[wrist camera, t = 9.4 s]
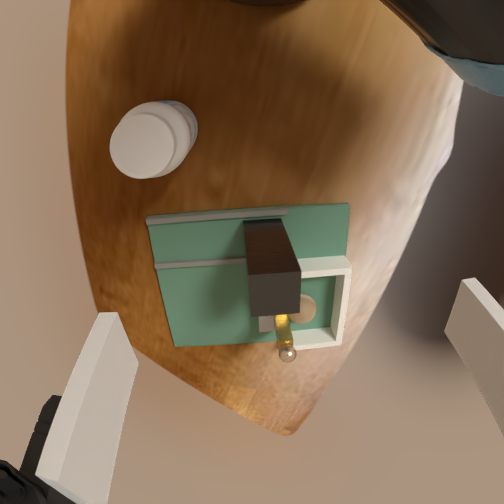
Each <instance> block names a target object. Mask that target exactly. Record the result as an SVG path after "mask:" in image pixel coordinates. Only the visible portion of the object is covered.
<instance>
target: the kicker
mask: <svg viewBox="0 0 504 504" xmlns="http://www.w3.org/2000/svg"><path fill="white" fill-rule="evenodd" d="M243 231H244V247H245V260H246V271H247V281H248V292H249V302H250V312H251V317H258V325H259V332H269V331H274V328H275V333H276V338H277V344H278V349H279V357H280V359H281V360H282V361H284V362H292V361H293V360H294V359H295V358H296V355H297V352H296V349H295V348H294V347H293V336H292V332H291V328H290V324H289V319H288V315H287V314H295V313H300V298H301V274H302V271H301V268H300V266H299V263H298V260H297V258H296V255H295V253H294V250H293V247H292V245H291V242H290V240H289V237H288V235H287V232H286V230H285V227H284V225H283V222H282V219H281V218H272V219H256V220H243Z"/></svg>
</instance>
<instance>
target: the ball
mask: <svg viewBox="0 0 504 504" xmlns="http://www.w3.org/2000/svg"><path fill="white" fill-rule="evenodd" d="M315 314H316V304H315V301H314V300H313V299H312V298H311V297H310V296H309V295H306V294H301V298H300V313H295V314H287V315H288V317H289V318H290V320H292V321H293V322H295V323H298V324H304V323H307V322H309V321H311V320H312V319H313V317H314V316H315Z"/></svg>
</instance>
